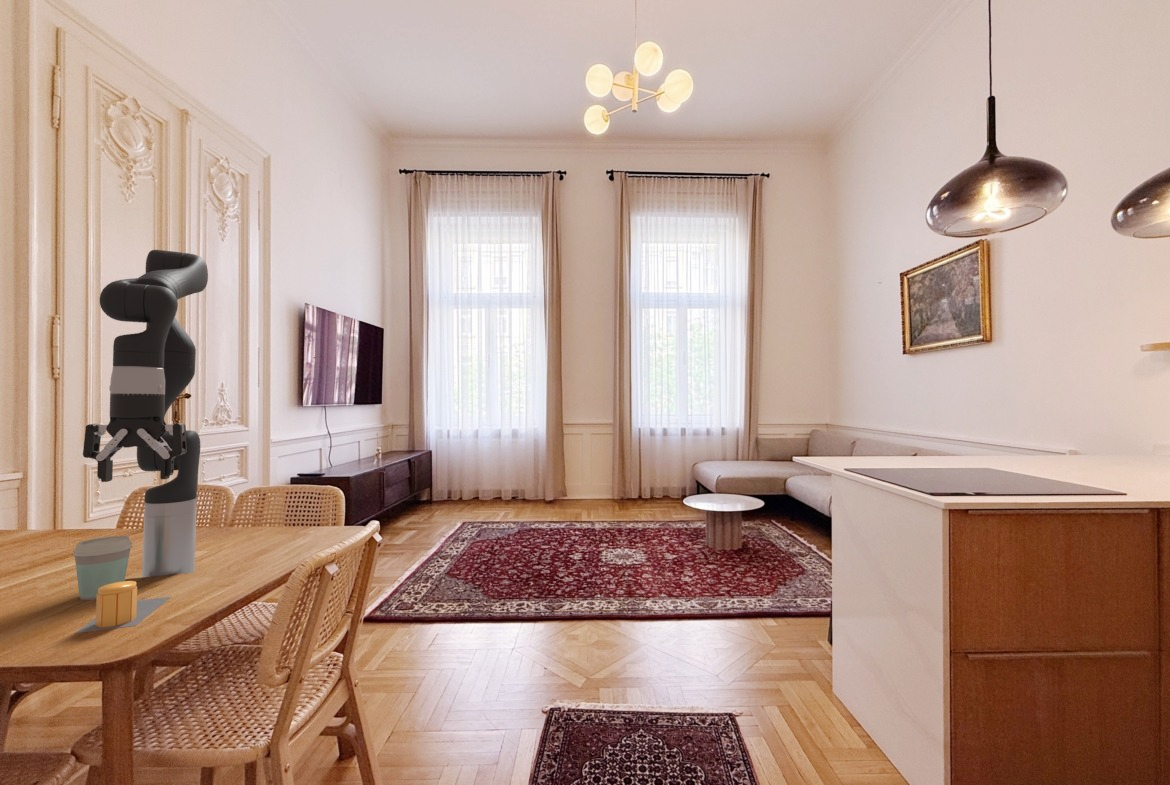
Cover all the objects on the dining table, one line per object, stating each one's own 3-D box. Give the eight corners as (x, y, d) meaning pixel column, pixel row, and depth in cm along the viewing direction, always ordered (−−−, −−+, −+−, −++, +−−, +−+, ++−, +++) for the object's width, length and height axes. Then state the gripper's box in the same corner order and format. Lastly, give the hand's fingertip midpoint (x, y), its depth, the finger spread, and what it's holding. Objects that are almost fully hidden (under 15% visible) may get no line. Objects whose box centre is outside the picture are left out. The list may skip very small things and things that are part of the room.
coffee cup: (126, 590, 104) (128, 533, 104) (134, 600, 98) (136, 539, 99) (67, 602, 97) (70, 541, 98) (72, 614, 92) (75, 548, 92)
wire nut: (106, 617, 86) (107, 583, 86) (140, 613, 88) (141, 579, 88) (90, 628, 82) (91, 592, 82) (126, 624, 83) (128, 588, 84)
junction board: (118, 610, 93) (119, 583, 93) (170, 604, 96) (171, 578, 96) (73, 642, 80) (74, 611, 80) (135, 634, 83) (136, 604, 83)
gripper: (193, 392, 97) (191, 475, 97) (100, 391, 92) (97, 479, 92) (177, 392, 90) (175, 481, 90) (75, 391, 85) (73, 485, 85)
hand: (136, 480), depth 91 cm, fingers open, 8 cm apart
